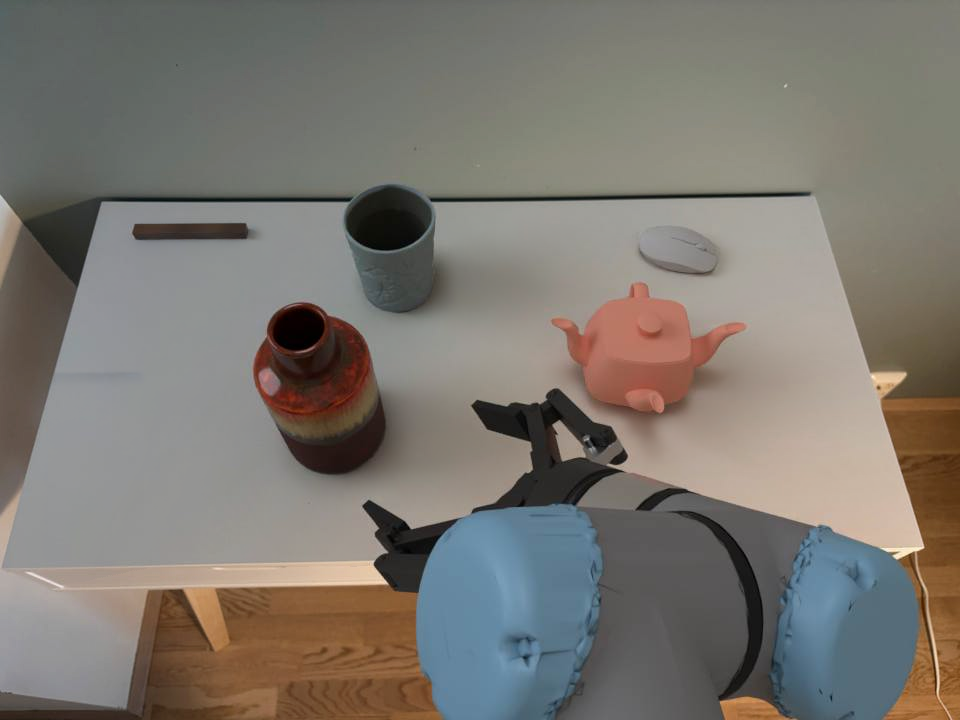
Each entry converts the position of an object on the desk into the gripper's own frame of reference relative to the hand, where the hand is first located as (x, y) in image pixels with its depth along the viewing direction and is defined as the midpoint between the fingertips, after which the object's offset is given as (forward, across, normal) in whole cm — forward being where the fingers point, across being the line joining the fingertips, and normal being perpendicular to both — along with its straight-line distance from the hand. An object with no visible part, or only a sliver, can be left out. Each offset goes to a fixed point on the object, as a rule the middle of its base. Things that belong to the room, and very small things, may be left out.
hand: (430, 462), depth 59 cm
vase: (+24, 0, -1) cm, 24 cm away
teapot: (+10, +27, -15) cm, 32 cm away
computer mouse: (+15, +45, -10) cm, 49 cm away
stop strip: (+47, +5, +23) cm, 53 cm away
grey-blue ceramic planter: (+30, +18, +6) cm, 36 cm away
